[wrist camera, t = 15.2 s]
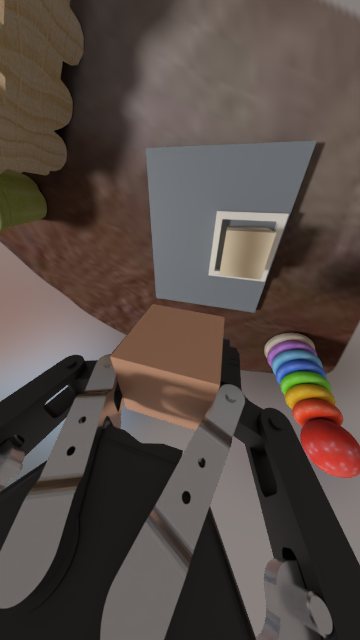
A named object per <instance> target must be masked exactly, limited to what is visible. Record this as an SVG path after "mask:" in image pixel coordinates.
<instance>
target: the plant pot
mask: <svg viewBox="0 0 360 640" xmlns="http://www.w3.org/2000/svg"><path fill="white" fill-rule="evenodd" d="M46 214H47V205H46V201H45V198H44V196H43V195H42V194H41V192H40V191H39V189H38V186H37V184H36V183H35V182H34V181H33V180H32V179H31V178H29V177H28V176H26V175H24V174H21V173H18V172H15V171H11V170H8V169H7V170H5V171H4V172H3V173H2V174H0V232H1V231H2V230H5V229H7V228H8V227H11V226H15V225H19V224H23V223H27V222H32V221H36V220H40V219H42V218H44V217H45V216H46Z"/></svg>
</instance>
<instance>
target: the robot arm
mask: <svg viewBox="0 0 360 640" xmlns="http://www.w3.org/2000/svg"><path fill="white" fill-rule="evenodd" d="M129 333H130V332H129ZM129 333H128V334H129ZM128 334H127V335H128ZM124 339H125V338H124ZM124 339H123V340H124ZM120 344H121V343H120ZM120 344H119V345H120ZM119 345H118V346H119ZM115 350H116V349H115ZM115 350H114V351H115ZM114 351H113V352H114ZM111 355H112V354H108V355H105V356H103V357H101V358H100V359H99V360H96V361H84V359H83V357H82V356H80V355H72V356H69V357H67V358H65V359H63V360H62V361H60V362H59V363H57V364H56V365H54V366H53V367H51V368H50V369H48V370H47V371H45V372H44V373H42V374H41V375H39V376H38V377H36V378H35V379H34V380H32V381H30V382H29V383H28V384H26V385H25V386H23V387H22V388H20V389H19V390H17V391H16V392H14V393H13V394H11V395H10V396H8V397H7V398H5V399H4V400H2V401H1V402H0V640H360V565H359V563H358V561H357V559H356V557H355V555H354V553H353V551H352V548H351V546H350V545H349V542H348V540H347V538H346V536H345V534H344V532H343V530H342V528H341V526H340V524H339V522H338V520H337V518H336V516H335V514H334V511H333V509H332V507H331V506H330V503H329V501H328V499H327V497H326V495H325V493H324V491H323V489H322V487H321V485H320V483H319V481H318V479H317V477H316V474H315V472H314V470H313V468H312V466H311V464H310V462H309V460H308V458H307V456H306V454H305V452H304V450H303V448H302V446H301V444H300V442H299V440H298V438H297V435H296V434H295V432H294V429H293V427H292V425H291V423H290V421H289V420H288V419H287V417H286V416H285V415H284V414H283V413H281V412H280V411H278V410H276V409H273V408H266V409H264V410H263V409H262V408H260V407H258V406H257V405H255V404H253V403H252V402H250V401H249V400H248V399H247V398H246V397H245V396H244V394H243V392H242V389H241V378H240V362H239V361H240V358H239V353H238V351H237V349H236V348H233V347H230V340H229V339H226V338H223V348H222V364H221V379H220V387H219V390H218V393H217V395H216V398H215V401H213V402H212V404H211V406H210V408H209V409H208V411H207V413H206V415H205V417H204V419H203V420H202V421H201V422H200V424H199V426H198V427H197V429H196V431H195V433H194V435H193V437H192V439H191V441H190V442H189V444H188V446H187V448H186V450H185V451H184V454H183V455H182V452H183V451H182V450H179V449H177V448H174V447H171V446H168V445H165V444H143V443H140V442H139V441H137V440H136V439H135V438H134V437H132V436H131V435H130V434H129V433H127V432H126V431H125V430H122V429H120V428H121V411H122V406H123V401H124V396H123V394H122V393H121V390H120V386H119V383H118V377H117V373H115V371H114V368H113V364H112V361H111V358H110V356H111ZM66 385H68V387H67V388H66V389H65V390H63V391H62V392H61V393H60V394H58V395H57V396H56V397H55V398H54V399H52V400H51V401H50V402H49V403H47V404H46V405H45V403H46V402H47V401H48V400H49V399H50V398H51V397H53V396H54V395H55V394H56V393H58V392H59V391H60V390H61V389H63V388H64V387H65V386H66ZM66 417H67V418H66ZM65 418H66V420H65V422H64V424H63V427H62V429H61V431H60V433H59V436H58V438H57V440H56V442H55V445H54V447H53V449H52V451H51V454H50V456H49V458H48V460H47V461H45V462H44V463H42V464H41V465H39V466H38V467H36V468H35V469H33V470H32V471H30V472H29V473H27V474H26V475H24V476H23V477H21V478H20V479H18V480H17V481H15V482H14V483H12V484H11V485H9V486H8V487H6V488H5V489H4V487H5V486H6V484H7V482H8V481H9V480H10V478H13V477H15V476H16V475H18V474H19V472H20V471H21V470H22V466H23V464H22V462H23V460H24V457H25V456H26V455H27V454H28V453H29V452H30V451H31V450H32V449H33V448H34V447H35V446H36V445H37V444H38V443H40V442H41V441H42V440H43V439H44V438H45V437H46V436H47V435H48V434H49V433H50V432H51V431H52V430H53V429H54V428H55V427H57V426H58V425H59V424H60V423H61V422H62V421H63V420H64V419H65ZM233 436H235V437H236V438H237V439H239V440H240V441H242V442H243V443H244V444H245V446H246V449H247V453H248V457H249V462H250V465H251V470H252V473H253V477H254V481H255V485H256V489H257V493H258V497H259V500H260V505H261V509H262V513H263V517H264V521H265V525H266V529H267V533H268V536H269V540H270V544H271V548H272V552H273V556H274V558H273V559H272V560H270V561H269V562H268V564H267V566H266V568H265V573H264V589H265V596H266V618H265V624H264V627H263V629H262V631H261V633H260V634H259V635H258V636H257V637H255V634H254V632H253V629H252V626H251V623H250V620H249V617H248V614H247V612H246V609H245V606H244V603H243V600H242V597H241V594H240V591H239V588H238V585H237V583H236V580H235V577H234V574H233V571H232V568H231V565H230V562H229V559H228V557H227V554H226V551H225V548H224V545H223V542H222V539H221V536H220V534H219V531H218V528H217V525H216V522H215V519H214V517H213V514H212V511H211V508H210V504H211V501H212V498H213V495H214V492H215V490H216V487H217V484H218V481H219V478H220V475H221V473H222V470H223V467H224V464H225V461H226V458H227V456H228V453H229V450H230V447H231V443H232V437H233Z"/></svg>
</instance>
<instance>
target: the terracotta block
mask: <svg viewBox="0 0 360 640" xmlns="http://www.w3.org/2000/svg"><path fill="white" fill-rule="evenodd" d="M223 332H224V317H220V316H215V315H209V314H204V313H198V312H193V311H188V310H182V309H177V308H171V307H166V306H160V305H155V304H152V306H151V307H150V308H149V309H148V311H147V312H146V313H145V314H144V315H143V317H142V318H141V319H140V320H139V322H138V323H137V324H136V325H135V326H134V328H133V329H132V330H131V331H130V333H129V334H128V335H127V336H126V337H125V339H124V340H123V341H122V342H121V344H120V345H119V346H118V347H117V348H116V350H115V351H114V352H113V353H112V355H111V356H110V358H111V361H112V364H113V368H114V371H115V373H117V377H118V383H119V386H120V390H121V393H122V394H123V396H124V402H125V405H126V408H127V409H130V410H133V411H136V412H139V413H142V414H145V415H149V416H152V417H155V418H158V419H161V420H164V421H167V422H170V423H174V424H177V425H180V426H183V427H186V428H189V429H192V430H195V431H196V429H197V427H198V426H199V424H200V422H201V421H202V420H203V419H204V417H205V415H206V413H207V411H208V409H209V408H210V406H211V404H212V402H213V401H215V398H216V395H217V393H218V390H219V387H220V379H221V364H222V348H223Z"/></svg>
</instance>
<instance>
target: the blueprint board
mask: <svg viewBox="0 0 360 640" xmlns="http://www.w3.org/2000/svg"><path fill="white" fill-rule="evenodd" d="M316 142H317V141H298V142H275V143H251V144H227V145H204V146H180V147H157V148H146V158H147V172H148V187H149V201H150V215H151V229H152V244H153V258H154V272H155V286H156V298H161V299H168V300H175V301H181V302H188V303H194V304H201V305H208V306H214V307H221V308H227V309H234V310H241V311H247V312H254V313H255V310H256V307H257V305H258V302H259V299H260V296H261V294H262V291H263V288H264V285H265V283H266V280H267V277H268V274H269V271H270V269H271V266H272V263H273V260H274V258H275V255H276V252H277V249H278V247H279V244H280V241H281V238H282V236H283V233H284V230H285V227H286V225H287V222H288V219H289V216H290V214H291V211H292V208H293V205H294V203H295V200H296V197H297V194H298V191H299V189H300V186H301V183H302V180H303V178H304V175H305V172H306V169H307V167H308V164H309V161H310V158H311V156H312V153H313V150H314V147H315V145H316ZM227 226H238V227H258V228H269V229H270V230H272V231H274V232H276V236H275V239H274V242H273V245H272V248H271V251H270V254H269V257H268V260H267V263H266V266H265V269H264V272H263V275H262V278H261V280H259V279H250V278H241V277H231V276H222V275H219V272H220V266H221V260H222V254H223V248H224V243H225V237H226V231H227Z"/></svg>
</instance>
